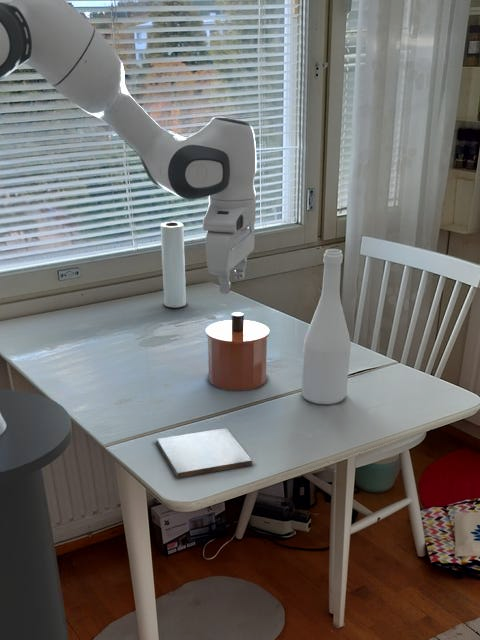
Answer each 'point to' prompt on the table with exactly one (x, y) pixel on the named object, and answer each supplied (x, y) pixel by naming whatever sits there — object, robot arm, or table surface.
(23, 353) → the table surface
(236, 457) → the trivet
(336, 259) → the wine bottle
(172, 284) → the paper towel roll
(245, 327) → the canister lid
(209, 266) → the robot arm
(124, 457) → the table surface
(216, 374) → the canister
